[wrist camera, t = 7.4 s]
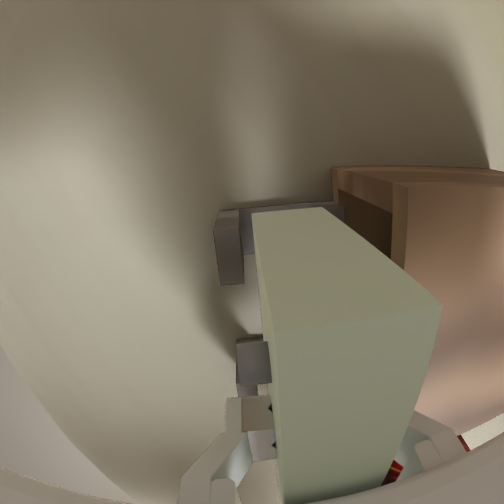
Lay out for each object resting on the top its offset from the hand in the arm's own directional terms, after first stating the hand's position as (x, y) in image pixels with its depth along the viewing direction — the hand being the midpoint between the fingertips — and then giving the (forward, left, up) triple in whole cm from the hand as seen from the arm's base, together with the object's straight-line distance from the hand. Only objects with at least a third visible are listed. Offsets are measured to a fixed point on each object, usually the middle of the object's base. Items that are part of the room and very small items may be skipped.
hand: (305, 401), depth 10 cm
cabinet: (0, -6, -8) cm, 10 cm away
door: (0, 0, -3) cm, 3 cm away
